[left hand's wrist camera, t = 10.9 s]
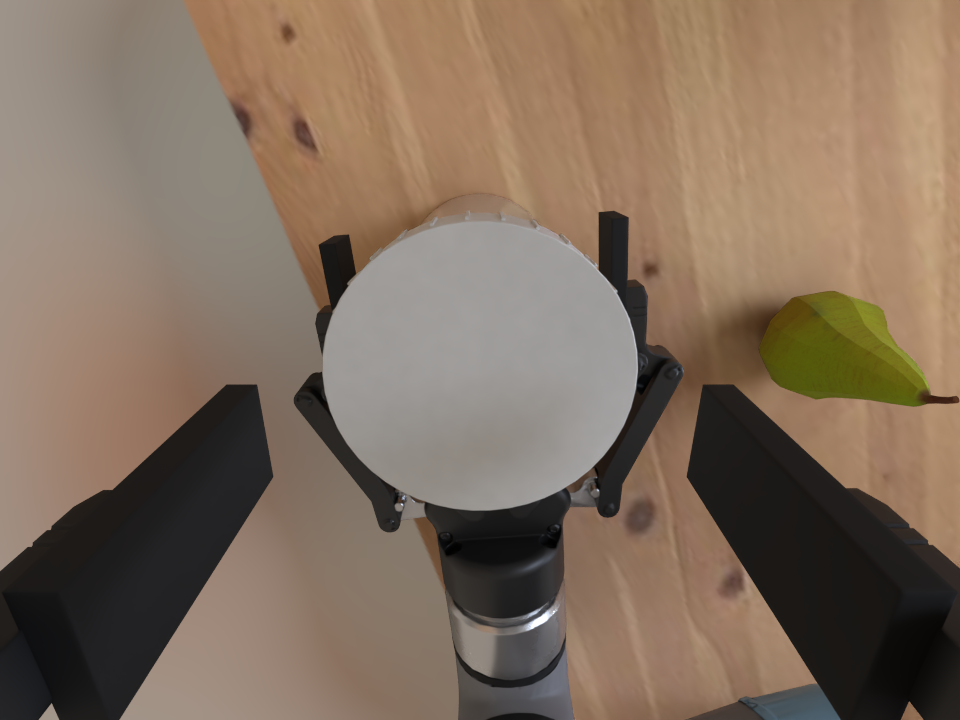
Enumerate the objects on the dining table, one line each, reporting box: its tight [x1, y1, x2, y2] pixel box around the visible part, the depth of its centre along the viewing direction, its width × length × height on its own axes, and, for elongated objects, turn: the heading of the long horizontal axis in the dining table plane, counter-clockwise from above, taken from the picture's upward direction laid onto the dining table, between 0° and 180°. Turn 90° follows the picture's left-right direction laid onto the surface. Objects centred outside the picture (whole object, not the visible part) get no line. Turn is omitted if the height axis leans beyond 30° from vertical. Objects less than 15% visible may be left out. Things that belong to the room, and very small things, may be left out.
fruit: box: [759, 291, 959, 407], centre depth 28 cm, size 6×6×12 cm
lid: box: [322, 211, 638, 511], centre depth 17 cm, size 10×10×2 cm
